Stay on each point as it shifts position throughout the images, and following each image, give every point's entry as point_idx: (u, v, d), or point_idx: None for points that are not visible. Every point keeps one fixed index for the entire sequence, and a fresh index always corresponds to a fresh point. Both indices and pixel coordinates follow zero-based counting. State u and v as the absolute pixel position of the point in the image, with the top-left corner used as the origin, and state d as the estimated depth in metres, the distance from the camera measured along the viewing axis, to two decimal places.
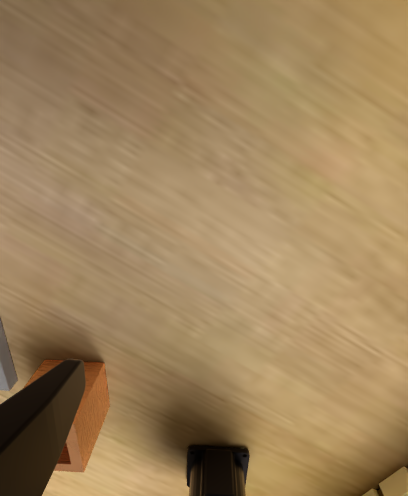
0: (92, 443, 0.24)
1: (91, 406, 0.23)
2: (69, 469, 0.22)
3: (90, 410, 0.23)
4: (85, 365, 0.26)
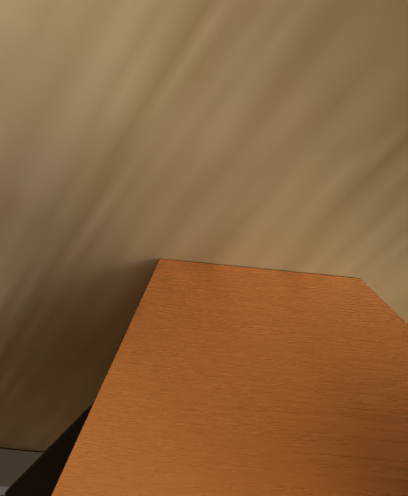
0: None
1: (214, 347, 0.05)
2: None
3: (227, 355, 0.04)
4: None
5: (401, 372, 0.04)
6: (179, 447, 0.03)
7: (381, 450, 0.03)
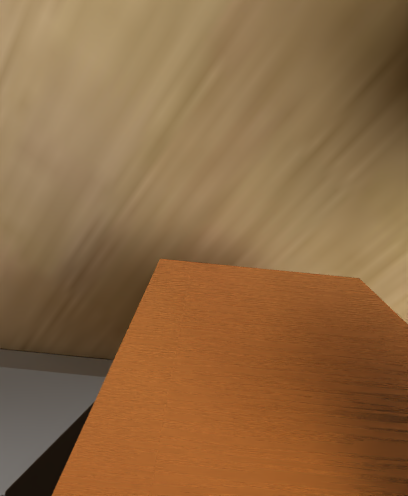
0: None
1: (214, 346, 0.05)
2: None
3: (228, 355, 0.05)
4: None
5: (400, 371, 0.05)
6: (179, 446, 0.03)
7: (380, 449, 0.03)
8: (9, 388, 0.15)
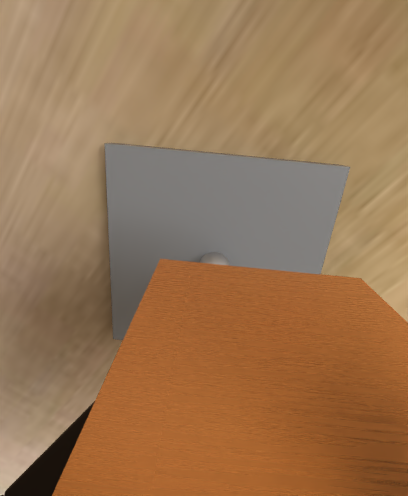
0: None
1: (214, 347, 0.05)
2: None
3: (228, 355, 0.04)
4: None
5: (403, 373, 0.04)
6: (180, 449, 0.03)
7: (384, 452, 0.03)
8: (150, 174, 0.16)
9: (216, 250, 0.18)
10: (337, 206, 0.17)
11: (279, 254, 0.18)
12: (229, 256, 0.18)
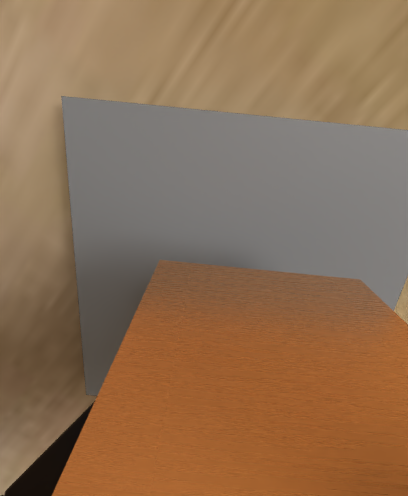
0: None
1: (214, 349, 0.05)
2: None
3: (227, 357, 0.04)
4: None
5: (403, 375, 0.04)
6: (179, 452, 0.03)
7: (383, 454, 0.03)
8: (137, 148, 0.10)
9: None
10: None
11: (335, 274, 0.12)
12: None
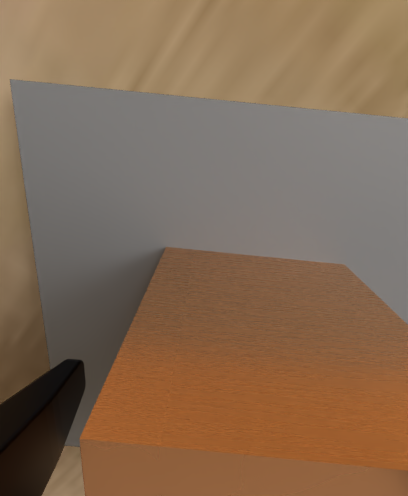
0: None
1: (214, 313, 0.06)
2: None
3: (226, 319, 0.05)
4: None
5: (370, 333, 0.05)
6: (188, 378, 0.04)
7: (345, 383, 0.04)
8: (113, 149, 0.08)
9: None
10: None
11: None
12: None
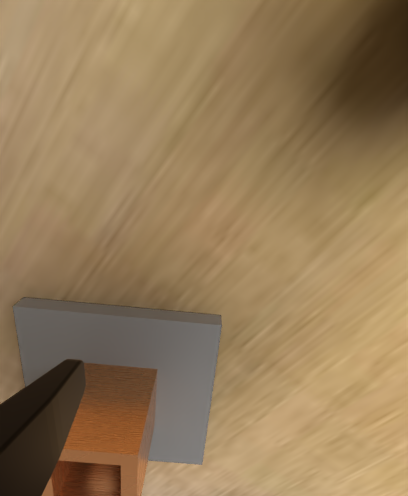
0: (135, 420, 0.16)
1: (81, 404, 0.17)
2: (132, 469, 0.15)
3: (83, 407, 0.17)
4: None
5: (130, 411, 0.17)
6: None
7: (105, 430, 0.16)
8: (54, 328, 0.19)
9: None
10: (216, 352, 0.20)
11: (173, 386, 0.21)
12: None
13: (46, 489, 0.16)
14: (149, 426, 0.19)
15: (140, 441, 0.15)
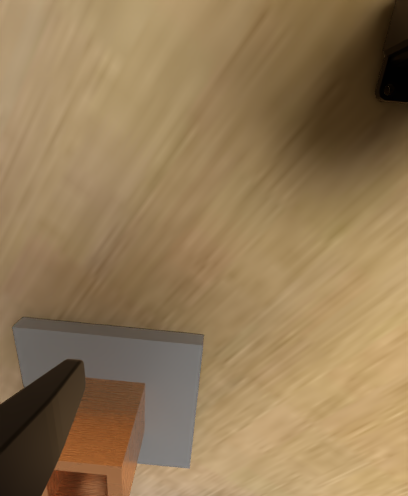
0: (121, 434, 0.18)
1: None
2: (117, 478, 0.17)
3: (75, 420, 0.19)
4: None
5: (117, 424, 0.19)
6: None
7: (94, 443, 0.17)
8: (50, 346, 0.21)
9: None
10: (199, 369, 0.21)
11: (160, 399, 0.22)
12: None
13: None
14: (136, 436, 0.20)
15: (124, 453, 0.17)
